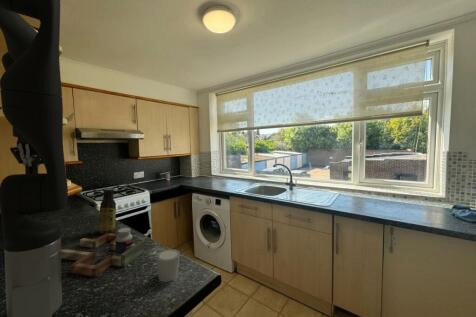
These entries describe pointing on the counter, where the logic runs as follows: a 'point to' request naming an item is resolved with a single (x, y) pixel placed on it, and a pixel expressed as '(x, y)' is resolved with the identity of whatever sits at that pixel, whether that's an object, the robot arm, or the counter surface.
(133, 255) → the trap channel
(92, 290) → the counter surface
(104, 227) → the sauce bottle
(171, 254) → the white cup
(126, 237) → the pill bottle
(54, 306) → the robot arm
